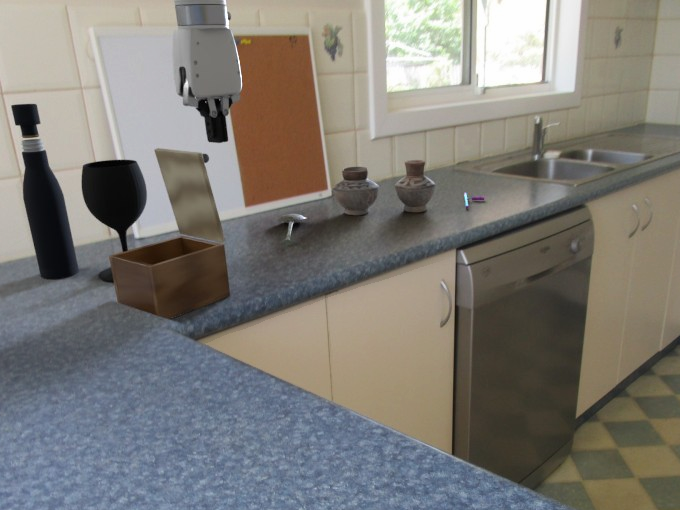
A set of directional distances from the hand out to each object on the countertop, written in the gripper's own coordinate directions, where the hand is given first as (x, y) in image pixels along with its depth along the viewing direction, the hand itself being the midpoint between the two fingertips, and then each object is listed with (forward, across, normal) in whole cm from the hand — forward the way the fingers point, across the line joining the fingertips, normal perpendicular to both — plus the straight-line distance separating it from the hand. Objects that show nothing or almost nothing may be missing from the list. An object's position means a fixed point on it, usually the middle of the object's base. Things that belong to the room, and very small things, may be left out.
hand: (218, 141), depth 108 cm
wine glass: (+24, +8, -20) cm, 32 cm away
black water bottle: (+24, +15, -31) cm, 42 cm away
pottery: (+25, -55, -8) cm, 61 cm away
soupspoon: (+24, -28, -14) cm, 40 cm away
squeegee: (+25, -75, +6) cm, 80 cm away
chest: (+24, +13, 0) cm, 27 cm away
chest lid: (+8, +7, 0) cm, 11 cm away
